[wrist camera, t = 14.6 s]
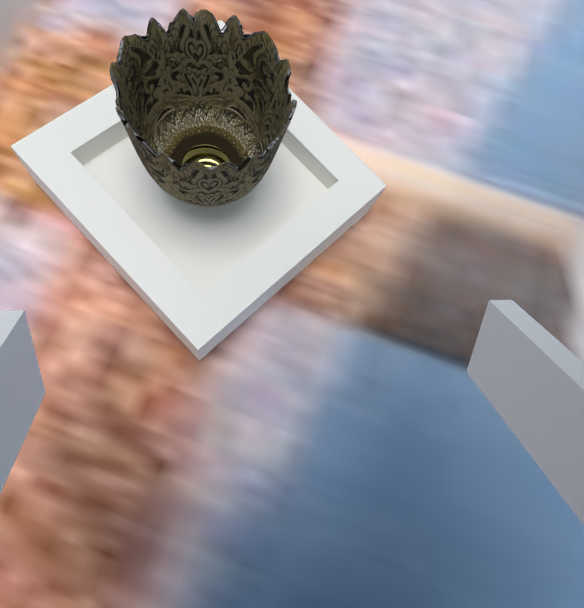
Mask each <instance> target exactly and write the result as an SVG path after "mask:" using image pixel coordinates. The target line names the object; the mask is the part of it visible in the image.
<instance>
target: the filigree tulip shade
mask: <svg viewBox="0 0 584 608" xmlns="http://www.w3.org/2000/svg"><path fill="white" fill-rule="evenodd" d="M226 25H227V26H226ZM225 27H226V28H225ZM224 28H225V29H224ZM242 28H243V27H242V25H241V23H240V20H239V19H238V18H237V16H235V15H232V16H231V17H230V18H229V19H228V21H227V22H226V23H225V26H224V27H223V29H220V27H219V24H218V22H217V20H216V19H215V17H214V15H213V14H212V13H211V12H209V11H208V10H200V11H199V12H196V13H195V15H194V16H193V18H192V16H191V15H189V14H188V12H187V11H186V10H185V9H183V8H182V9H181V10H180V11H179V13H178V14H177V15H176V17H175V19H174V20H173V22H170V23H169V26H168V31H167V32H166V31H165V30H164V29H163V27H162V26H161V24H160V23H158V22H157V21H156V20H155V19H154V18H151V19H150V20H149V24H148V28H147V34H146V36H140V35H137V34H133V35H130V36H124V37H123V38H122V40H121V43H120V47H119V53H118V56H117V61H116V62H115V63H114V62H112V63H111V66H110V76H111V80H112V82H113V84H114V88H115V91H116V100H115V102H116V106H117V107H115V108H116V112H117V114H118V116H119V118H120V119H121V121H122V123H123V125H124V127H125V129H126V132H127V134H128V136H129V138H130V140H131V142H132V144H133V147H134V149H135V151H136V153H137V155H138V156H139V158H140V160H141V162H142V164H143V166H144V167H145V169H146V170H147V172H148V173H149V175H150V176H151V177H152V179H153V180H154V181H155V182H156V183H157V184H158V185H159V186H160V187H161V188H162V189H163V190H164V191H165V192H167V193H168V194H170V195H171V196H173V197H175V198H176V199H178V200H180V201H183V202H185V203H188V204H191V205H196V206H202V207H216V206H222V205H226V204H229V203H232V202H234V201H237V200H239V199H241V198H242V197H244V196H245V195H247V194H248V193H249V192H251V191H252V190H253V189H254V188H255V187H256V186H257V184H258V183H259V182H260V181H261V180H262V178H263V177H264V175H265V173H266V172H267V170H268V169H269V167H270V165H271V163H272V161H273V159H274V157H275V154H276V152H277V150H278V148H279V146H280V144H281V142H282V139H283V137H284V135H285V133H286V131H287V129H288V127H289V124H290V122H291V120H292V117H293V115H294V112H295V109H296V106H297V100H294V99H293V100H292V101H291V96H292V94H291V92H290V91H289V88H288V83H289V77H290V75H291V68H290V64H289V61H288V60H287V59H284V60H280V59H279V55H278V50H277V48H276V46H275V44H274V42H273V40H272V39H271V38H270V36H269V35H268V33H266V32H265V31H260V32H254V33H252V34H243V33H244V32H243V31H242ZM243 29H244V28H243ZM223 30H224V32H221V31H223Z"/></svg>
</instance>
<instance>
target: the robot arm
mask: <svg viewBox="0 0 584 608" xmlns="http://www.w3.org/2000/svg"><path fill="white" fill-rule="evenodd" d="M467 373H468V375H469V376H470V377H471V378H472V380H473V381H474V382H475V384H476V385H477V386H478V388H479V389H480V390H481V392H482V393H483V394H484V395H485V397H486V398H487V399H488V401H489V402H490V403H491V405H492V406H493V407H494V409H495V410H496V411H497V412H498V414H499V415H500V416H501V418H502V419H503V420H504V422H505V423H506V424H507V426H508V427H509V428H510V429H511V431H512V432H513V433H514V435H515V436H516V437H517V439H518V440H519V441H520V443H521V444H522V445H523V446H524V448H525V449H526V450H527V452H528V453H529V454H530V456H531V457H532V458H533V460H534V461H535V462H536V463H537V465H538V466H539V467H540V469H541V470H542V471H543V473H544V474H545V475H546V477H547V478H548V479H549V480H550V482H551V483H552V484H553V486H554V487H555V488H556V490H557V491H558V492H559V493H560V495H561V496H562V497H563V499H564V500H565V501H566V503H567V504H568V505H569V507H570V508H571V509H572V510H573V512H574V513H575V514H576V516H577V517H578V518H579V520H580V521H581V522H582V524H583V525H584V363H583V362H582V361H581V360H580V359H579V358H578V357H577V356H575V355H574V354H573V353H572V352H571V351H570V350H569V349H567V348H566V347H565V346H564V345H563V344H562V343H561V342H559V341H558V340H557V339H556V338H555V337H554V336H553V335H551V334H550V333H549V332H548V331H547V330H546V329H545V328H543V327H542V326H541V325H540V324H539V323H538V322H537V321H535V320H534V319H533V318H532V317H531V316H530V315H529V314H527V313H526V312H525V311H524V310H523V309H522V308H521V307H520V306H518V305H517V304H516V303H515V302H514V301H513V300H489V302H488V305H487V308H486V312H485V315H484V318H483V321H482V324H481V327H480V331H479V334H478V337H477V340H476V343H475V346H474V349H473V353H472V356H471V359H470V362H469V365H468V368H467ZM44 395H45V389H44V385H43V381H42V377H41V373H40V369H39V365H38V361H37V357H36V353H35V349H34V345H33V341H32V337H31V334H30V330H29V326H28V322H27V318H26V314H25V310H12V311H0V494H1V491H2V489H3V487H4V485H5V482H6V480H7V478H8V476H9V473H10V471H11V469H12V467H13V464H14V462H15V460H16V458H17V455H18V453H19V451H20V449H21V447H22V444H23V442H24V440H25V438H26V435H27V433H28V431H29V429H30V426H31V424H32V422H33V420H34V417H35V415H36V413H37V411H38V408H39V406H40V404H41V402H42V399H43V397H44Z"/></svg>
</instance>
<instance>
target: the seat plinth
mask: <svg viewBox="0 0 584 608" xmlns="http://www.w3.org/2000/svg"><path fill="white" fill-rule="evenodd" d="M218 24H219V27H220V29H223V27H224V26H225V23H224V22H223V21H222V20H220V21H218ZM226 26H227V25H226ZM225 28H226V27H225ZM225 28H224V29H225ZM221 32H224V30H223V31H221ZM288 88H289V87H288ZM289 91H290V92H291V94H292V96H291V101H292V100H293V99H294V100H297V106H296V109H295V112H294V115H293V117H292V120H291V122H290V124H289V127H288V129H287V131H286V133H285V135H284V137H283V139H282V142H281V144H280V146H279V148H278V150H277V152H276V154H275V157H274V159H273V161H272V163H271V165H270V167H269V169H268V170H267V172H266V173H265V175H264V177H263V178H262V180H261V181H260V182H259V183H258V184H257V186H256V187H255V188H254V189H253V190H252V191H251V192H249V193H248V194H247V195H245V196H244V197H242V198H241V199H239V200H237V201H234V202H232V203H229V204H226V205H222V206H216V207H202V206H196V205H191V204H188V203H185V202H183V201H180V200H178V199H176V198H175V197H173V196H171V195H170V194H168V193H167V192H165V191H164V190H163V189H162V188H161V187H160V186H159V185H158V184H157V183H156V182H155V181H154V180H153V179H152V177H151V176H150V175H149V173H148V172H147V170H146V169H145V167H144V166H143V164H142V162H141V160H140V158H139V156H138V155H137V153H136V151H135V149H134V147H133V144H132V142H131V140H130V138H129V136H128V134H127V132H126V129H125V127H124V125H123V123H122V121H121V119H120V118H119V116H118V114H117V112H116V108H115V107H117V106H116V102H115V100H116V91H115V88H114V84H113V85H111V86H110V87H108V88H106V89H105V90H103V91H101V92H100V93H98V94H96V95H95V96H93V97H91V98H90V99H88V100H86V101H85V102H83V103H81V104H80V105H78V106H76V107H75V108H73V109H71V110H70V111H68V112H66V113H65V114H63V115H61V116H60V117H58V118H56V119H55V120H53V121H51V122H50V123H48V124H46V125H45V126H43V127H41V128H40V129H38V130H36V131H35V132H33V133H31V134H30V135H28V136H26V137H25V138H23V139H21V140H20V141H18V142H16V143H15V144H13V145H11V148H12V149H13V150H14V152H15V153H16V155H17V156H18V158H19V159H20V161H21V162H22V164H23V165H24V166H25V168H26V169H27V171H28V172H29V174H30V175H31V177H32V178H33V180H34V181H35V182H36V183H37V185H38V186H39V187H40V188H41V189H42V190H43V191H44V192H45V193H46V194H47V195H48V197H49V198H50V199H51V200H52V201H53V202H54V203H55V204H56V205H57V206H58V207H59V209H60V210H61V211H62V212H63V213H64V214H65V215H66V216H67V217H68V218H69V219H70V221H71V222H72V223H73V224H74V225H75V226H76V227H77V228H78V229H79V230H80V231H81V232H82V234H83V235H84V236H85V237H86V238H87V239H88V240H89V241H90V242H91V243H92V244H93V246H94V247H95V248H96V249H97V250H98V251H99V252H100V253H101V254H102V255H103V256H104V258H105V259H106V260H107V261H108V262H109V263H110V264H111V265H112V266H113V267H114V268H115V270H116V271H117V272H118V273H119V274H120V275H121V276H122V277H123V278H124V279H125V280H126V282H127V283H128V284H129V285H130V286H131V287H132V288H133V289H134V290H135V291H136V292H137V294H138V295H139V296H140V297H141V298H142V299H143V300H144V301H145V302H146V303H147V304H148V306H149V307H150V308H151V309H152V310H153V311H154V312H155V313H156V314H157V315H158V316H159V318H160V319H161V320H162V321H163V322H164V323H165V324H166V325H167V326H168V327H169V328H170V330H171V331H172V332H173V333H174V334H175V335H176V336H177V337H178V338H179V339H180V340H181V341H182V343H183V344H184V345H185V346H186V347H187V348H188V349H189V350H190V351H191V352H192V353H193V355H194V356H195V357H196V358H197V359H198V360H199V361H200V360H201V359H202V358H203V357H204V356H205V355H207V354H208V353H209V352H210V351H211V350H212V349H213V348H215V347H216V346H217V345H218V344H219V343H220V342H221V341H222V340H224V339H225V338H226V337H227V336H228V335H229V334H230V333H232V332H233V331H234V330H235V329H236V328H237V327H238V326H240V325H241V324H242V323H243V322H244V321H245V320H246V319H247V318H249V317H250V316H251V315H252V314H253V313H254V312H255V311H257V310H258V309H259V308H260V307H261V306H262V305H263V304H264V303H266V302H267V301H268V300H269V299H270V298H271V297H272V296H274V295H275V294H276V293H277V292H278V291H279V290H280V289H281V288H283V287H284V286H285V285H286V284H287V283H288V282H289V281H291V280H292V279H293V278H294V277H295V276H296V275H297V274H299V273H300V272H301V271H302V270H303V269H304V268H305V267H306V266H308V265H309V264H310V263H311V262H312V261H313V260H314V259H316V258H317V257H318V256H319V255H320V254H321V253H322V252H323V251H325V250H326V249H327V248H328V247H329V246H330V245H331V244H333V243H334V242H335V241H336V240H337V239H338V238H339V237H341V236H342V235H343V234H344V233H345V232H346V231H347V230H348V229H350V228H351V227H352V226H353V225H354V224H355V223H356V222H358V221H359V220H360V219H361V218H362V217H363V216H364V215H365V214H367V212H368V211H369V210H370V208H371V207H372V205H373V204H374V203H375V201H376V200H377V198H378V197H379V196H380V194H381V193H382V192H383V190H384V189H385V187H386V186H387V185H386V184H385V183H384V182H383V181H382V180H381V179H380V178H379V177H378V176H377V175H376V174H375V173H374V172H373V171H372V170H371V169H370V168H369V167H368V166H367V165H366V164H365V163H364V162H363V161H362V160H361V159H360V158H359V157H358V156H357V155H356V154H355V153H354V152H353V151H352V150H351V149H350V148H349V147H348V146H347V145H346V144H345V143H344V142H343V141H342V140H341V139H340V138H339V137H338V136H337V135H336V134H335V133H334V132H333V131H332V130H331V129H330V128H329V127H328V126H327V125H326V124H325V123H324V122H323V121H322V120H321V119H320V118H319V117H318V116H317V115H316V114H315V113H314V112H313V111H312V110H311V109H310V108H309V107H308V106H307V105H306V104H305V103H304V102H303V101H302V100H301V99H300V98H299V97H298V96H297V95H296V94H295V93H294V92H293V91H292V90H291V89H290V88H289Z"/></svg>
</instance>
